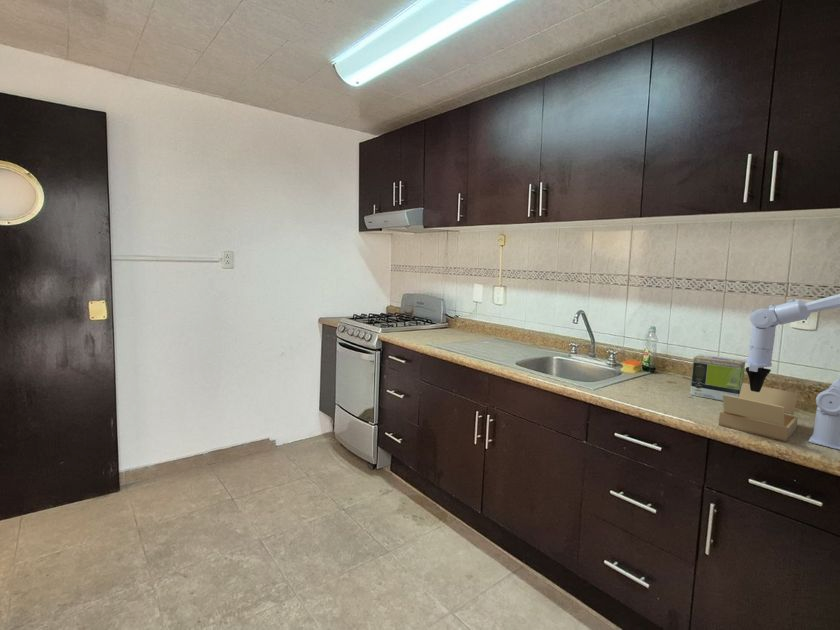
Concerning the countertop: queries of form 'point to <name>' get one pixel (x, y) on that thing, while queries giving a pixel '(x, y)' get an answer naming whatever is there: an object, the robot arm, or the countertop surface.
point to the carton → (760, 426)
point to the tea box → (716, 376)
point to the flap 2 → (771, 397)
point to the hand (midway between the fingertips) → (755, 391)
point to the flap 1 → (754, 409)
